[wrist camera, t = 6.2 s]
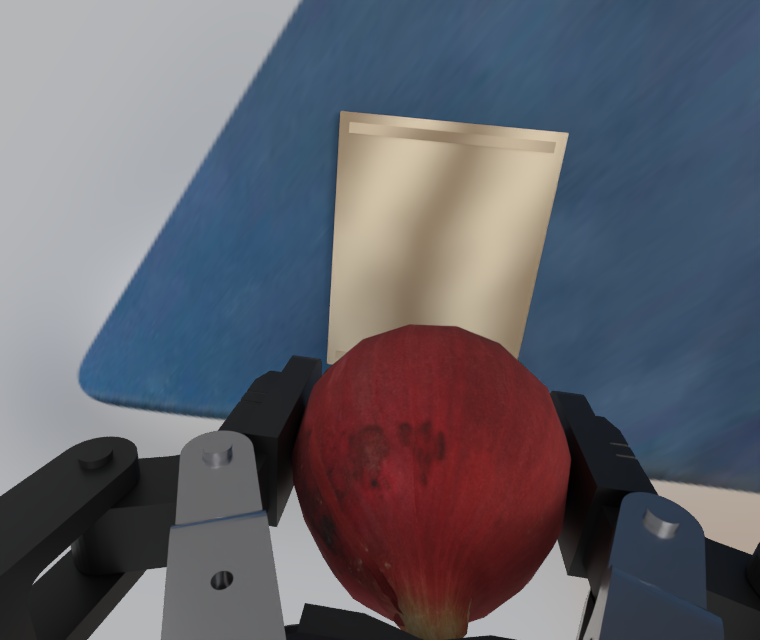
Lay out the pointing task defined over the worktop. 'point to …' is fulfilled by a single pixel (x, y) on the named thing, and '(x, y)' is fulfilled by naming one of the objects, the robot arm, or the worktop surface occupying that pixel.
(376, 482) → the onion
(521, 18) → the worktop surface
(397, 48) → the worktop surface
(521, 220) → the board
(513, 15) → the worktop surface
